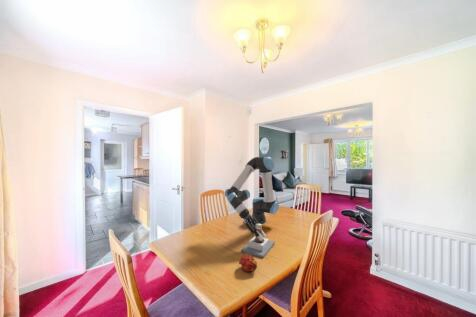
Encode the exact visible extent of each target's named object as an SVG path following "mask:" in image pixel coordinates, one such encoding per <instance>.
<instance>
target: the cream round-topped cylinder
mask: <svg viewBox="0 0 476 317" xmlns="http://www.w3.org/2000/svg"><path fill="white" fill-rule="evenodd" d="M262 225H263V224H262V223H261V224H255V226H254V227H255V229H256V230H257V231H258V232H259V233H260V234H261V236H262V231H263V229H262ZM254 236H255V242H256V243H260V244H262V240H261V241H260V240H259V238H258V237H257V236H256V235H255V234H254Z"/></svg>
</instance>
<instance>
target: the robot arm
mask: <svg viewBox="0 0 476 317" xmlns="http://www.w3.org/2000/svg"><path fill="white" fill-rule="evenodd" d="M274 168H275V162H274V159H273V158H271V157H270V156H256V157H253V158H251V159H250V160H249V161H248V162H247V163H246V164H245V165H244V169H243V170H242V171H241V173H240V174H239V176H238V177H237V178H236V180H235V181H234V183H233V184H232V185H231V187H230V188H226V189H225V191H224V196H225V197H226V199H227V201H228V202H229V204H230V205H231V207H232V208H233V209H234V210H235V212H236V213H237V214H238V216H239V217H240V218H241V219H243V222H242V223H243V224H244V225H245V226H246V227H247V229H248V230H249V231H250V233H251V234H254V236H255V235H256V236H257V237H258V238H259V240H260V241H261V240H263V239H264V238H266V237H267V235H266V233H265V232H264V231H263V230H262V236H261V234H260V233H259V232H258V231H257V230H256V229H255V224H261V225H262V224H265V223H267V217H266V214H265V213H267V214H270V215H275V214H277V212H279V207H280V204H279V202H278V201H276V200H277V199H276V198H275V196H274V189H273V188H274V187H273V179H272V172H273V169H274ZM257 170H258V171H259V174H261V182H262V188H263V197H262V196H261V197H260V196H259V197H254V198H253V199H252V203H251V204H252V214H251V213H250V211H249V208H247V206H246V205H245V204H244V203H243V202H244V201H247V200H248V199H249V198H250V197H251V193H250V190H248V189H243V190H241V189H242V188H243V186H244V184H245V183H246V181H247V180H248V179H249V177H250V176H251V174H252V173H254V172H255V171H257Z"/></svg>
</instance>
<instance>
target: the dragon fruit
mask: <svg viewBox="0 0 476 317" xmlns="http://www.w3.org/2000/svg"><path fill="white" fill-rule="evenodd" d="M239 260H240V261H238V265H241V269H242V271H246V272H247V273H253V271H256V269H258V264H257V263H258V262H257V260H255V259H254V258H253V257H252V255H250V254H247V253H244V254H242V255H241V256H240V258H239Z"/></svg>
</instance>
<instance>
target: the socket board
mask: <svg viewBox="0 0 476 317" xmlns="http://www.w3.org/2000/svg"><path fill="white" fill-rule="evenodd" d="M275 243H276V242H275V241H272V240H270V239H269V238H266V237H264V239H263V240H262V244H260V243H256V242H255V235H254V236H253V237H252V238H251V239H250V240H249V241H248V242H247V244H246V245H245V246H243V247H242V248H241V249H240V252H241V253H244V254H248V255H251V256H255V257H258V258H262V259H264V258H266V256H267V255H268V253H269V252H270V250H271V249H272V248H273V246H275Z"/></svg>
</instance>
